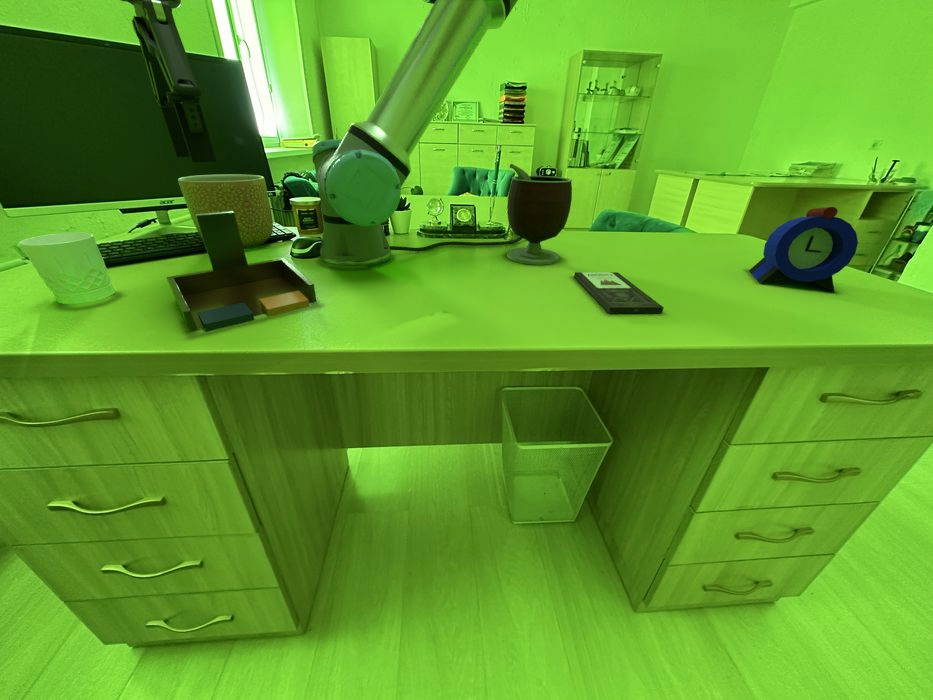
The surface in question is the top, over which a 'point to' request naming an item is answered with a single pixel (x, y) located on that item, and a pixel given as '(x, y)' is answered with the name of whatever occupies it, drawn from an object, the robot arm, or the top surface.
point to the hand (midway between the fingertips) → (195, 159)
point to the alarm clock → (808, 249)
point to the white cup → (70, 266)
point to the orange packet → (284, 303)
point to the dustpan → (232, 274)
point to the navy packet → (225, 316)
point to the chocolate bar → (617, 293)
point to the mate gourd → (537, 214)
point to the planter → (232, 202)
